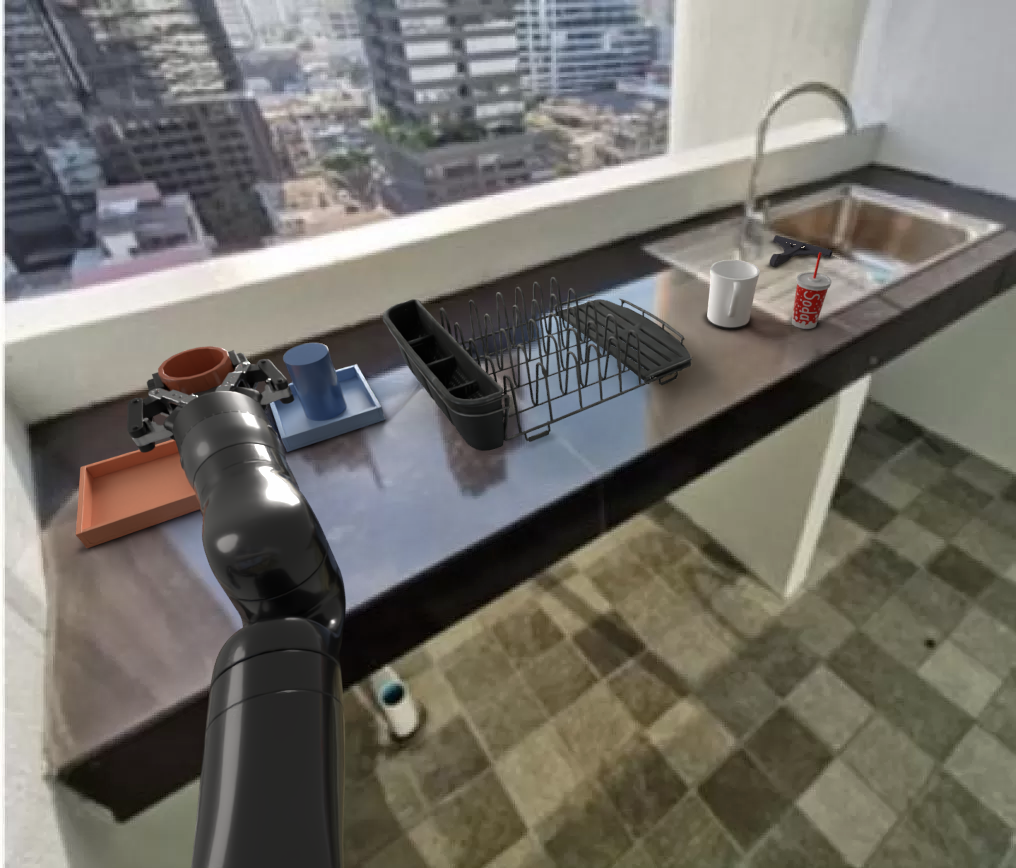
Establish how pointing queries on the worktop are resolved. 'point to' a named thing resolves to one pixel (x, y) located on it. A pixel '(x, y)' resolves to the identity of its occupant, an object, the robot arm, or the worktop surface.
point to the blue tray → (306, 431)
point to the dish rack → (479, 397)
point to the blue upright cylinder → (315, 381)
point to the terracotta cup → (196, 369)
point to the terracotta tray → (132, 493)
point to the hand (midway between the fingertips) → (198, 369)
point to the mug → (731, 293)
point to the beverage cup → (809, 297)
